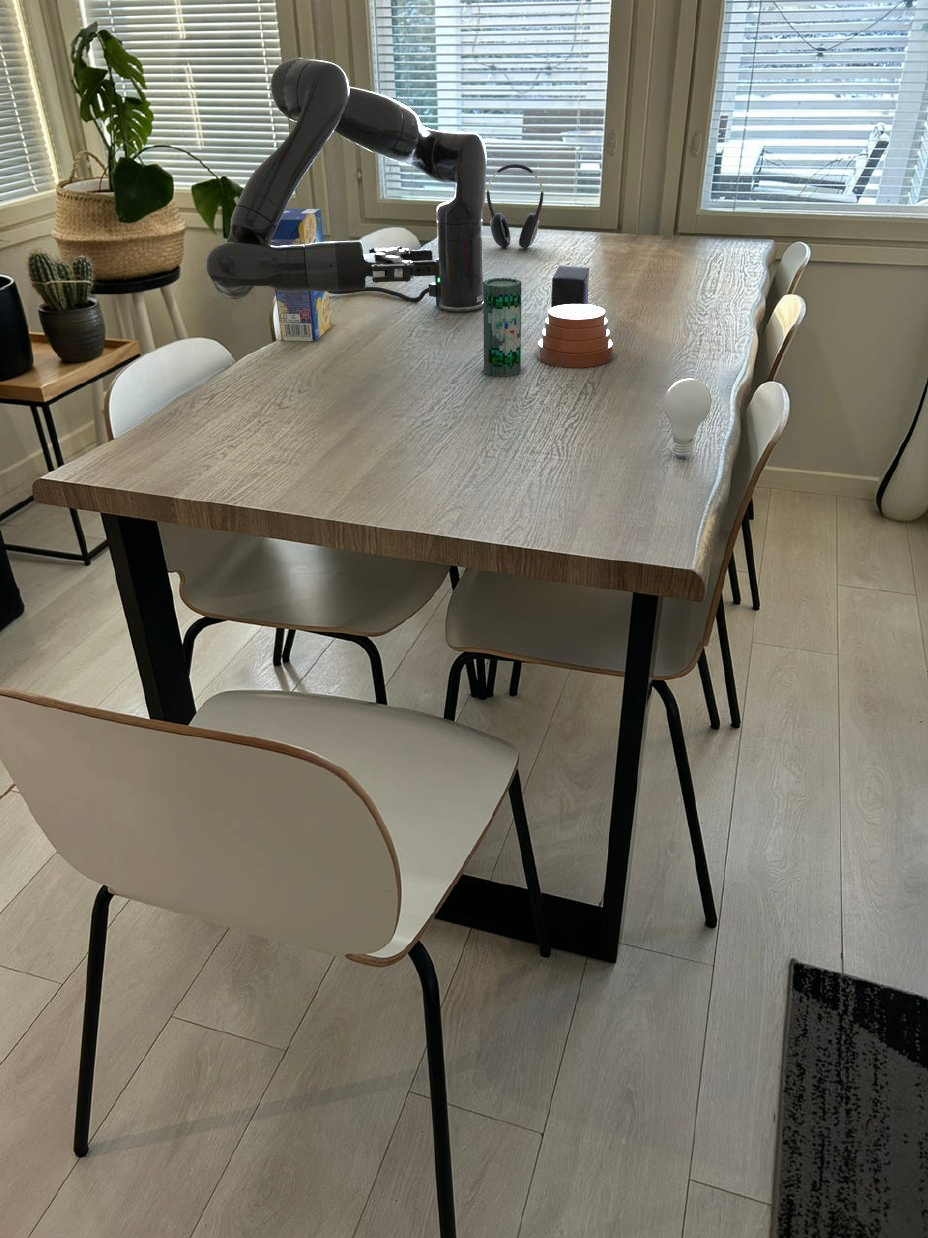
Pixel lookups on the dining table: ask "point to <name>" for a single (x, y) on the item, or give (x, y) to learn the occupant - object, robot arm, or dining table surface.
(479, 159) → the robot arm
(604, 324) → the orange stepped round pedestal
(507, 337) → the can
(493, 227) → the headphones
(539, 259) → the dining table surface
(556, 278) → the small box
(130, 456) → the dining table surface
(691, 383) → the lightbulb
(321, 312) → the blue cracker box
